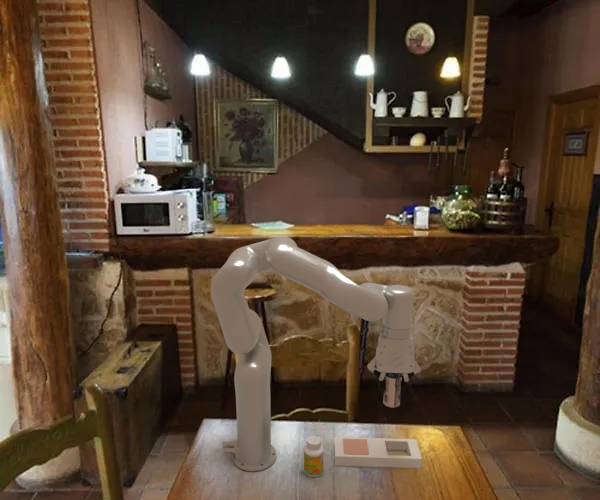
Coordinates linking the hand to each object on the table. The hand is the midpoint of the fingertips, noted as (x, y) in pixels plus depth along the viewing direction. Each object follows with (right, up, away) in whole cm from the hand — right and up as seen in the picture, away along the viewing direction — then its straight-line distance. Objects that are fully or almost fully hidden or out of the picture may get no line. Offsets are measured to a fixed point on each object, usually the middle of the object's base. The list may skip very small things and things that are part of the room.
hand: (392, 391), depth 135 cm
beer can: (0, -4, +1) cm, 4 cm away
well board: (-4, -20, +5) cm, 21 cm away
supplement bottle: (-22, -22, -1) cm, 31 cm away
